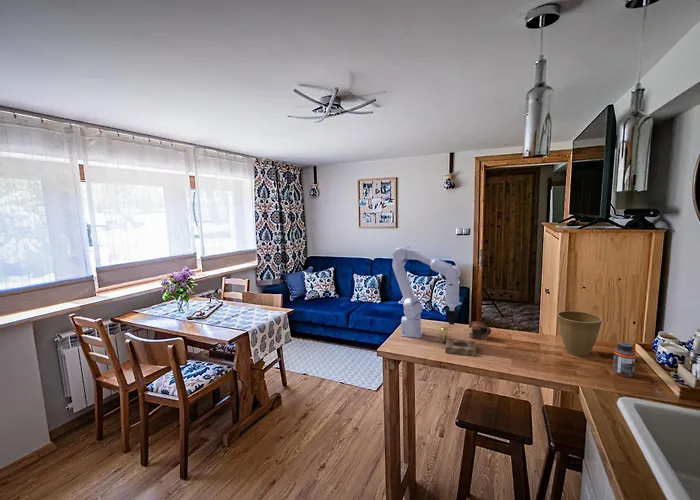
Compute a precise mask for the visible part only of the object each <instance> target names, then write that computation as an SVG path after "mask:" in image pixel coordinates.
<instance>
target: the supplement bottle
mask: <svg viewBox="0 0 700 500" xmlns="http://www.w3.org/2000/svg"><path fill="white" fill-rule="evenodd" d="M633 347H634V346H633V344H631V343H630V342H625V341H619V342H618V343H617V346H616V347H615V348H614V350H613V363H612V370H613V373H614V374H616V375H619V376H621V377H624V378H632V377H634V376H635V371H636V356H637V355H636V351H634V350H633Z"/></svg>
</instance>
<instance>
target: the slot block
mask: <svg viewBox="0 0 700 500" xmlns="http://www.w3.org/2000/svg"><path fill="white" fill-rule="evenodd" d="M445 354H455V355H463V356H473V357H476V355H477V353H476V342H475V340H465V339H457V338H449V337H448V338H447V339H446V344H445Z"/></svg>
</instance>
